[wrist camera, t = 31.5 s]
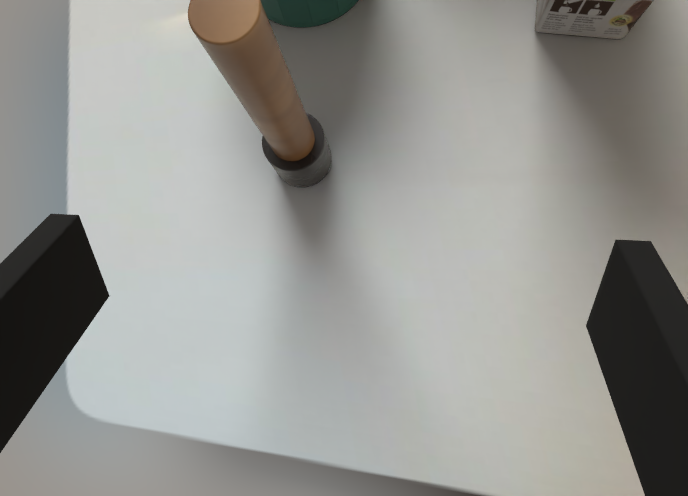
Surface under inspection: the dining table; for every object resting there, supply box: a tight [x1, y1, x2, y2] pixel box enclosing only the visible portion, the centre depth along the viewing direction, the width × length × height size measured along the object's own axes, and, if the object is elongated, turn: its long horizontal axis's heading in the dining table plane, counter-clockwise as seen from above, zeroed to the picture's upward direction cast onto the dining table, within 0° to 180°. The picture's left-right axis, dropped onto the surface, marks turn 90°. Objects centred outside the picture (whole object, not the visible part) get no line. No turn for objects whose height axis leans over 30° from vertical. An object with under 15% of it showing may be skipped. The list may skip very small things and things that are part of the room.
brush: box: [188, 0, 331, 187], centre depth 29 cm, size 4×4×18 cm
